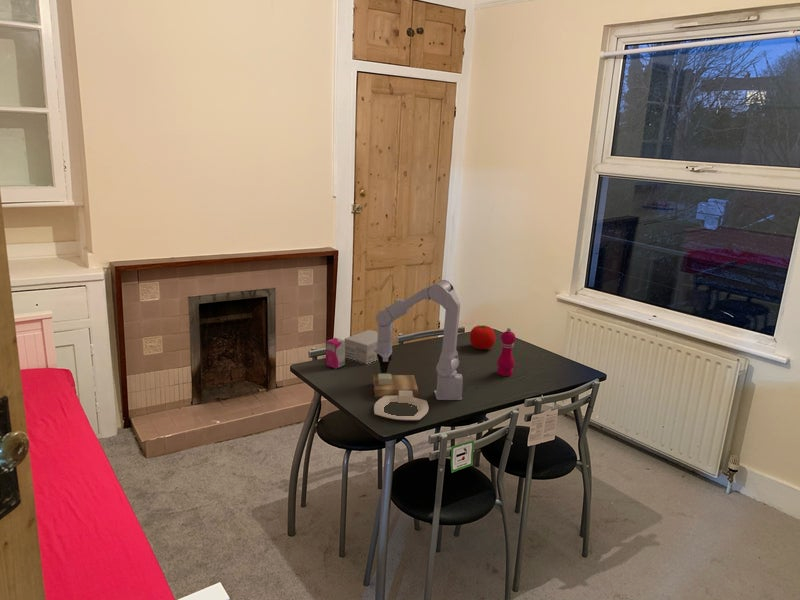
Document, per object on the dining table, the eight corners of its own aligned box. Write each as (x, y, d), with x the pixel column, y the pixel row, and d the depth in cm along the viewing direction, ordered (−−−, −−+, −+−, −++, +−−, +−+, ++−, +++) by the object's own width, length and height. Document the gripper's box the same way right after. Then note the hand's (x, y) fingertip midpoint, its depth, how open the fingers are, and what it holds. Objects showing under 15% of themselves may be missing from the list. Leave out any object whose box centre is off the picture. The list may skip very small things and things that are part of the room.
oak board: (413, 383, 237) (413, 375, 236) (417, 398, 223) (418, 389, 222) (373, 383, 235) (373, 375, 234) (374, 398, 222) (375, 389, 221)
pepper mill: (493, 374, 250) (497, 328, 245) (499, 368, 256) (503, 324, 251) (510, 377, 247) (514, 331, 241) (515, 372, 253) (520, 327, 248)
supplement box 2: (368, 348, 274) (368, 329, 272) (390, 355, 267) (391, 335, 264) (343, 358, 261) (343, 337, 259) (366, 365, 254) (367, 344, 251)
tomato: (490, 343, 288) (492, 322, 285) (496, 353, 275) (498, 330, 272) (466, 343, 287) (468, 321, 284) (471, 352, 274) (473, 330, 271)
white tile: (412, 396, 221) (412, 390, 220) (412, 402, 216) (413, 396, 215) (398, 396, 221) (398, 390, 220) (398, 402, 216) (399, 396, 215)
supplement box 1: (335, 362, 255) (335, 337, 252) (345, 366, 251) (345, 340, 248) (325, 366, 251) (325, 340, 248) (335, 369, 247) (335, 343, 244)
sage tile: (390, 379, 231) (391, 373, 230) (391, 384, 226) (392, 378, 225) (377, 379, 230) (378, 373, 229) (378, 384, 225) (378, 378, 225)
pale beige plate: (423, 427, 202) (423, 422, 201) (368, 420, 205) (368, 414, 205) (432, 404, 220) (432, 399, 219) (381, 397, 224) (381, 392, 223)
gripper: (373, 333, 238) (372, 365, 241) (375, 345, 224) (374, 379, 227) (391, 333, 238) (390, 365, 242) (394, 345, 224) (392, 379, 228)
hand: (383, 372), depth 235 cm, fingers closed
